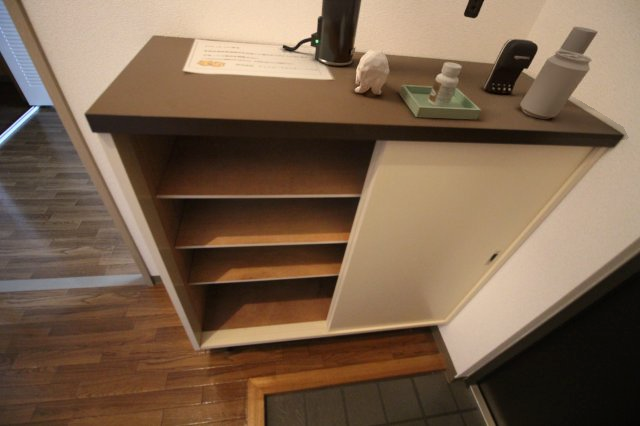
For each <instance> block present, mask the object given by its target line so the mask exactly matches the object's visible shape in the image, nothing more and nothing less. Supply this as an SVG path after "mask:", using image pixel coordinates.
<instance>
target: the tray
mask: <svg viewBox="0 0 640 426" xmlns="http://www.w3.org/2000/svg"><path fill="white" fill-rule="evenodd" d="M432 88H433V85H432V86H431V85H417V84H416V85H415V84H401V85H400V89H399V96H400V98H401V99H402V100H403V102H404V103H405V104H406V106H407V107H408V109H409V110H410V111H411V112H412V114H413V115H414V116H415V118H423V119H424V118H426V119H450V120H451V119H453V120H471V121H472V120H478V119H479V118H478V117H479V116H480V114H481V112H482V109H481V108H480V107H479V106H478V105H477V104H476V103H474V102H473V101H472V100H471V99H470V98H469V97H468V96H467V95H466V94H464V93H463V92H462V91H461V90H460V89H459V88H458V87H456V89H455V91H454V94H453V96H452V98H451V101H450V103H449V105H448V106H447V107H436V106H433V105H431V104H430V103H429V102H428V99H429V96H430V93H431V90H432Z"/></svg>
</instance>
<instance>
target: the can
mask: <svg viewBox="0 0 640 426" xmlns="http://www.w3.org/2000/svg"><path fill="white" fill-rule="evenodd" d="M592 61H593V60H592V58H591V57H589V56H587V55H584V54H583V55H582V54H578V53H574V52H569V51H561V50H560V51H559V50H556V51H555V52H554V55H552V56H550V57H547V59H546V60H545V62H544V63H543V65H542V67H541V68H540V70H539V72H538V73H537V75H536V77H535V79H534V80H533V81H532V84H531V85H530V87H529V89H528V90H527V91H526V93H525V95H524V96H523V99H522V100H521V102H520V108H521V110H522V112H523V113H524V114H526V115H528V116H529V117H533V118H536V119H540V120H541V119H542V120H548V119H550V118H551V119H552V118H554V117H557V116H558V114H559V113H560V112H561V110H562V109H563V107H564V106H565V105H566V103H567V102H568V100H569V99H570V97H571V96H572V94H573V93H574V92H575V90H576V89H577V88H578V86H579V85H580V84H581V82H582V81H583V79H584V78H585V77H586V75H587V74H588V73H589V71H590V62H592Z"/></svg>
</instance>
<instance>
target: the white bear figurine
mask: <svg viewBox="0 0 640 426" xmlns="http://www.w3.org/2000/svg"><path fill="white" fill-rule="evenodd" d="M389 67H390V66H389V60H388V58H387V56H386V54H385V53H384V52H383V51H381V50H380V49H377V50H375V49H369V50H368V51H367V52H365V54H363V55H362V56H361V57H360V60H359V63H358V65H357V67H356V69H355V85H358V84H359V86H357V87H355V88H354V92H355V93H357V94H363V93H364V94H365V93H366V92H367V91H369V90H371V93H372V94H373V95H375V96H379V95H381V94H382V90H381V89H382V87H383V86H384V84H385V83H386V81H387V79H388V76H389V74H390V68H389ZM370 88H371V89H370Z"/></svg>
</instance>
